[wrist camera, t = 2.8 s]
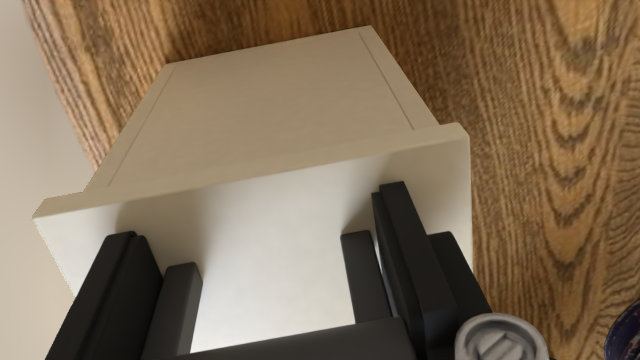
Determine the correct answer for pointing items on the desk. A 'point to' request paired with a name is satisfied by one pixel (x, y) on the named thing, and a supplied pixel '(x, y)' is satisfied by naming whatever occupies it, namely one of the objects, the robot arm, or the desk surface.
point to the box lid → (273, 246)
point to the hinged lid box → (264, 106)
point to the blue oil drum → (625, 336)
